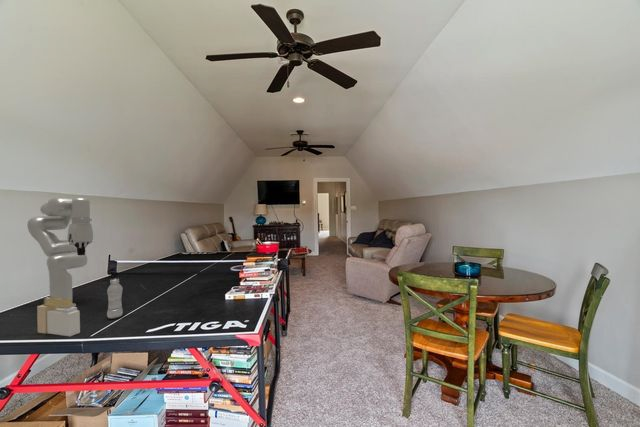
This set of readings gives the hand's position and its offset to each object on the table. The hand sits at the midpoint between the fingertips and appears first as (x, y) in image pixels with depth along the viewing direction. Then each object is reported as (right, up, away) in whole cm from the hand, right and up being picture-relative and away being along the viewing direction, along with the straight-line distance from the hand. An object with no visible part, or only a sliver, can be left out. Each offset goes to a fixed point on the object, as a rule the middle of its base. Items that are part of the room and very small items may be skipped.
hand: (81, 255), depth 150 cm
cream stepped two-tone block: (+10, -32, -23) cm, 41 cm away
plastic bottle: (+23, -32, -6) cm, 40 cm away
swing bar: (+9, -20, -23) cm, 32 cm away
